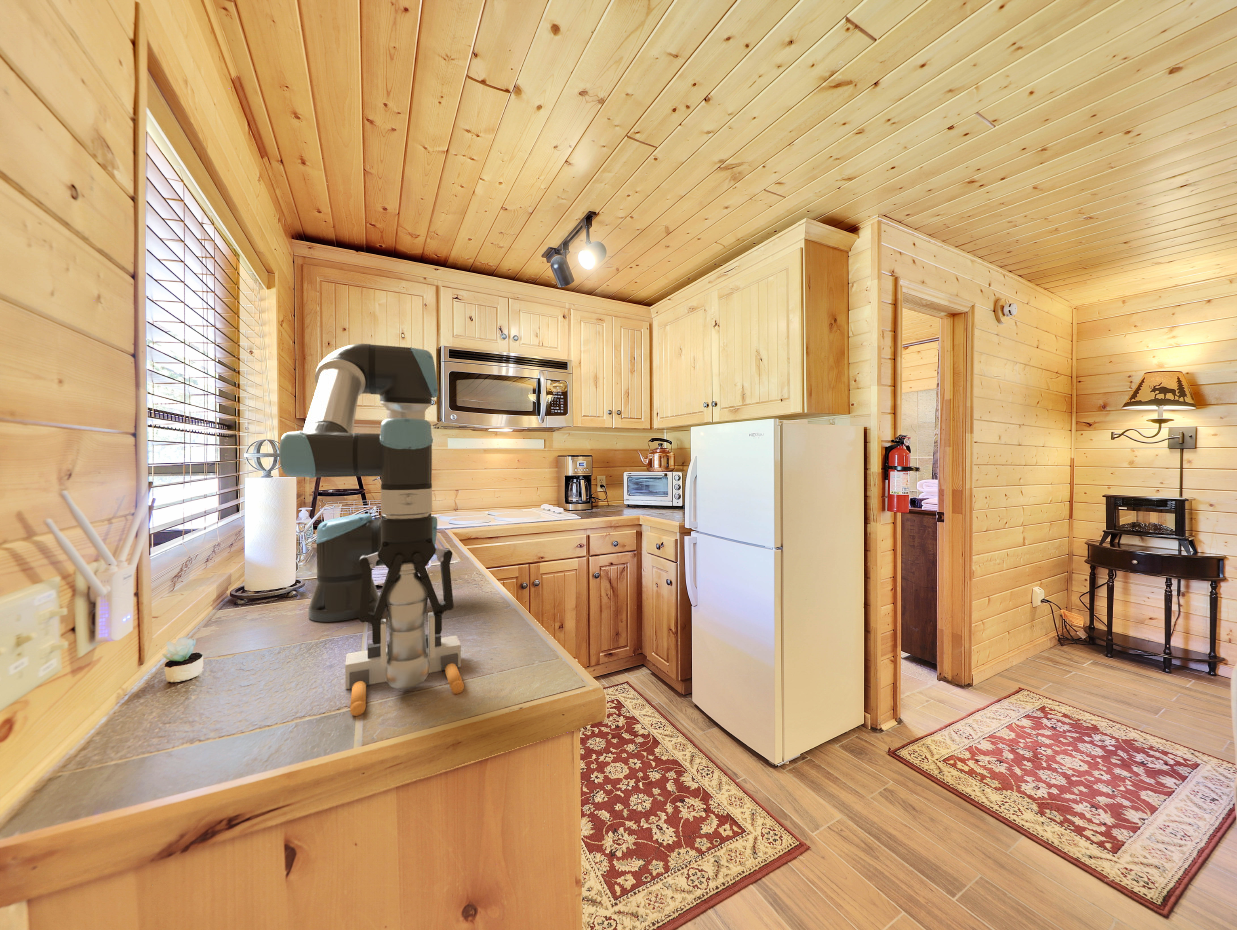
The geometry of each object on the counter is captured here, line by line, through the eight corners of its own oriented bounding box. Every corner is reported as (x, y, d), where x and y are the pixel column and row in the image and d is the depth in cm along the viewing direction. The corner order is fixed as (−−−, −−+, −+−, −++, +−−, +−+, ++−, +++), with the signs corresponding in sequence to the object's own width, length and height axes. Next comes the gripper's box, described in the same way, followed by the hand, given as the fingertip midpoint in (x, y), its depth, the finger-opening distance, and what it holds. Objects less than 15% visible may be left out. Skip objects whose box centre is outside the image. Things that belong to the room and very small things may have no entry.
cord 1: (352, 692, 76) (352, 680, 76) (366, 689, 77) (366, 677, 77) (349, 720, 68) (349, 706, 68) (365, 716, 69) (365, 703, 69)
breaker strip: (347, 676, 81) (346, 643, 81) (456, 656, 89) (456, 625, 89) (345, 691, 76) (344, 655, 76) (461, 668, 84) (461, 636, 84)
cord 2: (444, 674, 82) (444, 662, 82) (456, 671, 83) (456, 660, 83) (451, 697, 74) (451, 684, 74) (464, 694, 75) (464, 682, 75)
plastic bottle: (438, 676, 79) (437, 557, 78) (412, 696, 72) (411, 566, 72) (403, 673, 80) (402, 555, 80) (375, 692, 73) (374, 564, 73)
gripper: (335, 522, 68) (336, 681, 68) (473, 514, 77) (474, 655, 77) (338, 516, 74) (339, 661, 75) (465, 509, 83) (466, 639, 84)
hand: (408, 658), depth 76 cm, fingers open, 6 cm apart
